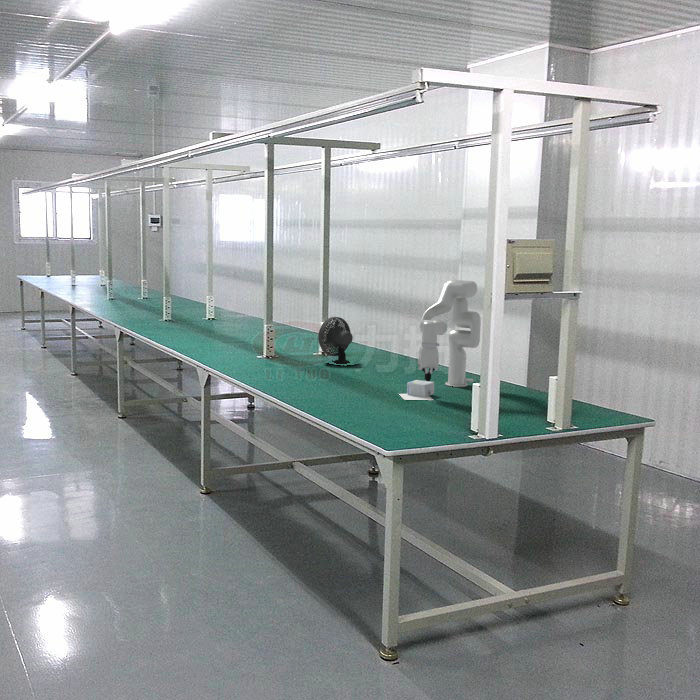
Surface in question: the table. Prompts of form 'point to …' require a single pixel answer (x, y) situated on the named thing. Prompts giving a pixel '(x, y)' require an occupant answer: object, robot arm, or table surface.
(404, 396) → the mat
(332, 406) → the table surface
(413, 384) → the light bulb box
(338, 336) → the fan
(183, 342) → the table surface
